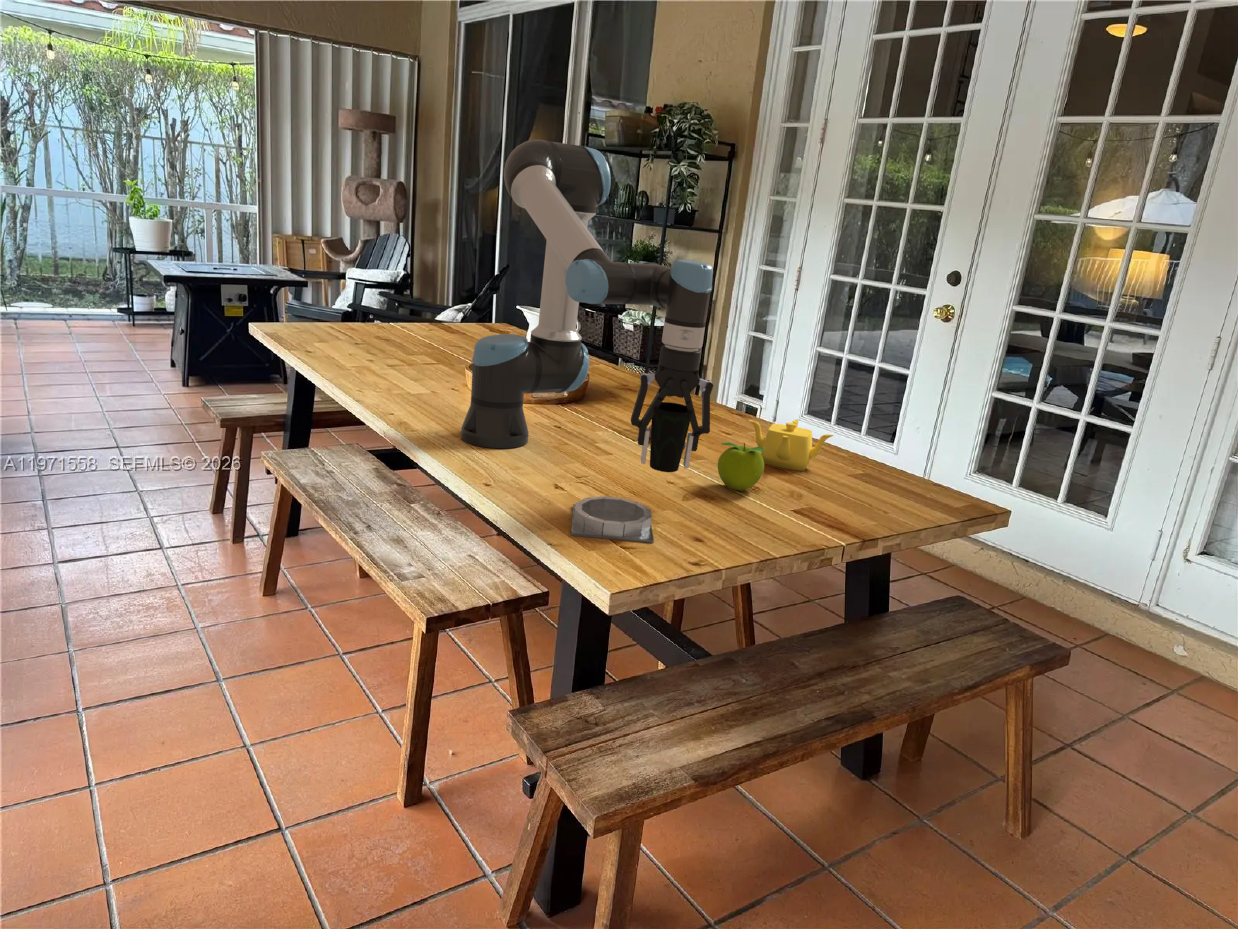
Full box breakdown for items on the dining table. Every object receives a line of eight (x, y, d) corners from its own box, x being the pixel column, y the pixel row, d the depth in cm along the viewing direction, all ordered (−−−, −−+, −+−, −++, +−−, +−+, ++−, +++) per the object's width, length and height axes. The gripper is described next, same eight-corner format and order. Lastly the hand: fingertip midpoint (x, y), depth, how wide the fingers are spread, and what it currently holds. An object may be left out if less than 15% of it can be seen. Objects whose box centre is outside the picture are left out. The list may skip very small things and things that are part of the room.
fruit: (749, 499, 170) (757, 452, 167) (708, 487, 174) (715, 441, 171) (766, 489, 178) (774, 444, 175) (726, 478, 182) (733, 433, 179)
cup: (642, 459, 165) (650, 400, 161) (680, 462, 166) (689, 404, 162) (646, 472, 158) (655, 410, 154) (686, 475, 159) (695, 414, 155)
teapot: (828, 471, 196) (835, 431, 193) (779, 474, 190) (786, 432, 187) (789, 452, 208) (795, 414, 205) (742, 454, 202) (748, 415, 199)
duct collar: (571, 535, 142) (572, 520, 141) (573, 506, 155) (574, 492, 154) (653, 543, 142) (655, 528, 142) (648, 513, 156) (650, 500, 155)
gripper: (626, 344, 150) (611, 464, 158) (739, 357, 152) (719, 476, 159) (625, 336, 158) (611, 452, 165) (733, 349, 159) (714, 463, 166)
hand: (664, 463), depth 162 cm, fingers closed on cup, 8 cm apart
